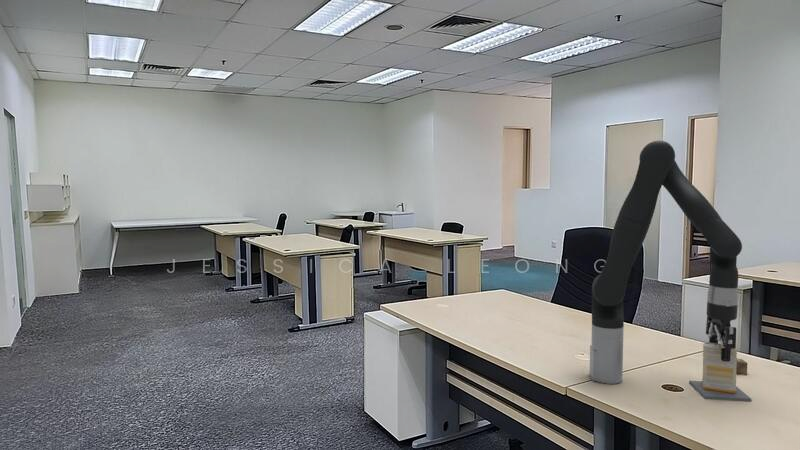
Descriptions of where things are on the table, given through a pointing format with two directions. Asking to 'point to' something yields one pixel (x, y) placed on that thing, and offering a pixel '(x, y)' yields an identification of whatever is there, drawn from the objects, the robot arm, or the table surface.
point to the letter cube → (741, 367)
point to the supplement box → (718, 369)
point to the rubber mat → (719, 393)
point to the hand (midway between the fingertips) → (719, 356)
